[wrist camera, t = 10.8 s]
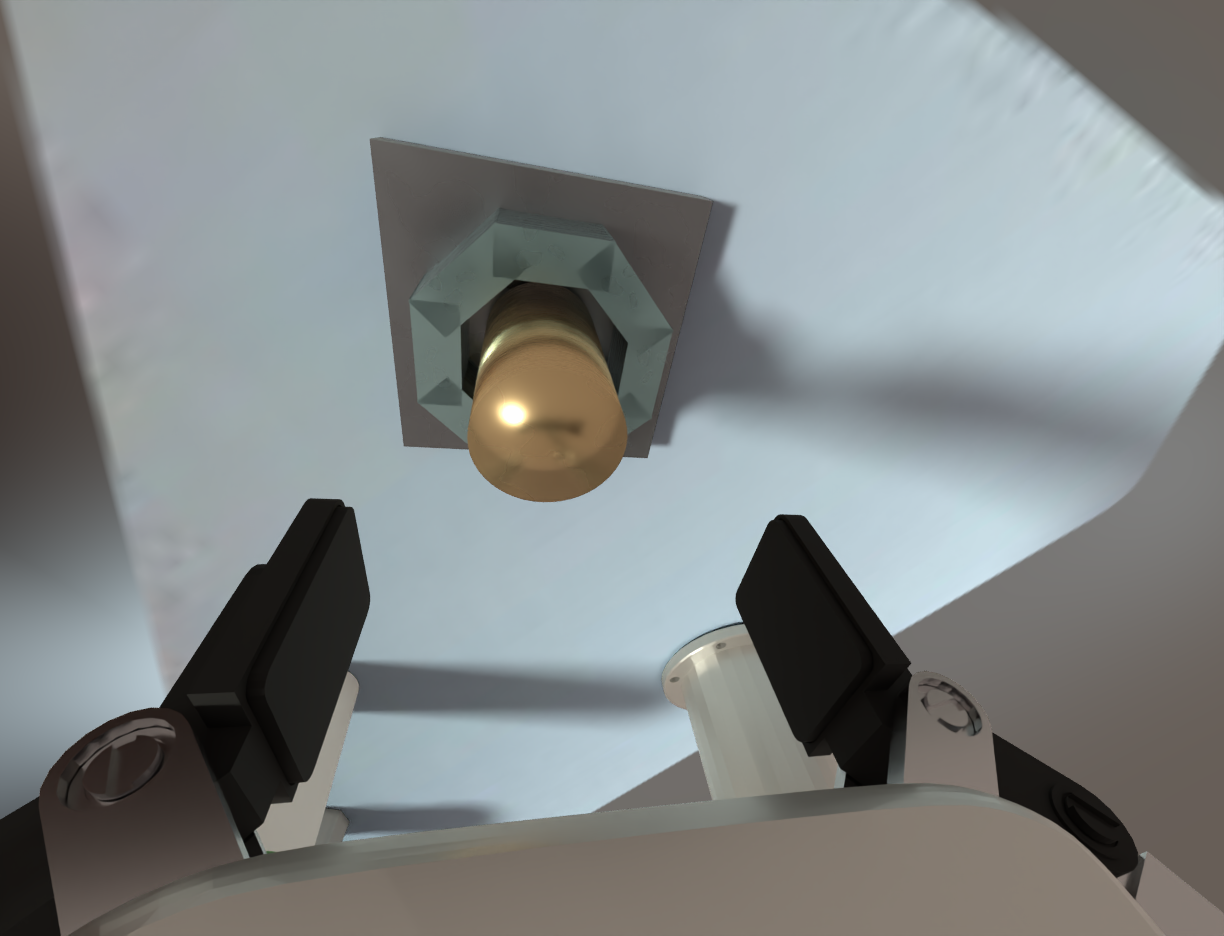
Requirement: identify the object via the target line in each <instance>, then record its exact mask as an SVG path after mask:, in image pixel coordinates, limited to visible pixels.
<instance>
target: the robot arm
mask: <svg viewBox="0 0 1224 936" xmlns="http://www.w3.org/2000/svg"><path fill="white" fill-rule="evenodd" d="M369 605H370V592H369V586H368V581H367V576H366V571H365V565H364V560H363V555H362V550H361V544H360V539H359V534H358V529H357V523H356V518H355V513H354V509H353V508H352V507H345V505H344V502H343V501H342V500H340V499H313V498H310V499H308V500H307V501H306V502H305V503H304V505H303V506H302V508H301V510H300V511H299V513H298V514H297V516H296V518H295V519H294V521H293V523H292V524H291V526H290V527H289V529H288V531H287V532H286V534H285V536H284V537H283V539H282V540H281V542H280V544H279V545H278V547H277V548H276V550H275V552H274V553H273V555H272V557H271V558H270V560H269V561H268V563H267V564H258V565H256V566H254V567H252V568H251V569H250V570H249V572H248V573H247V574H246V575H245V577H244V578H243V580H242V581H241V583H240V584H239V586H238V587H237V589H236V591H235V592H234V594H233V595H232V597H231V598H230V600H229V601H228V603H227V604H226V606H225V607H224V609H223V611H222V612H221V614H220V615H219V617H218V618H217V620H216V621H215V623H214V624H213V626H212V627H211V629H210V631H209V632H208V634H207V635H206V637H205V638H204V640H203V641H202V643H201V644H200V646H199V647H198V649H197V651H196V652H195V654H194V655H193V657H192V658H191V660H190V661H189V663H188V664H187V666H186V667H185V669H184V670H183V672H182V674H181V675H180V677H179V678H178V680H177V681H176V683H175V684H174V686H173V687H172V689H171V690H170V692H169V694H168V695H167V697H166V698H165V700H164V701H163V703H162V704H161V706H160V707H159V708H147V709H142V710H137V711H133V712H129V713H127V714H124V715H122V716H119V717H117V718H115V719H112V720H109V721H107V722H106V723H104V724H102V725H101V726H99V727H97V728H96V729H94V730H92V731H91V732H89V733H87V734H86V735H85V736H83V737H82V738H81V739H80V740H78V741H77V742H76V743H75V744H74V745H72V746H71V747H70V748H69V749H68V750H67V751H65V753H64V754H63V755H62V756H61V757H60V759H59V760H58V761H57V762H56V763H55V764H54V765H53V767H52V768H51V769H50V770H49V772H48V774H47V776H46V778H45V780H44V782H43V784H42V786H41V788H40V796H39V797H37V798H36V799H35V800H32V801H31V802H29V803H27V804H26V805H24V806H22V807H21V808H19V809H17V810H16V811H14V812H12V813H11V814H9V815H7V816H5V817H4V818H2V819H0V936H1224V914H1223V913H1222V912H1221V911H1220V910H1219V909H1217V908H1216V907H1215V906H1214V905H1213V904H1211V903H1210V902H1209V901H1208V900H1206V899H1205V898H1204V897H1203V896H1201V895H1200V894H1199V893H1198V892H1197V891H1195V890H1194V889H1193V888H1192V887H1190V886H1189V885H1188V884H1187V883H1185V882H1184V881H1183V880H1182V879H1181V878H1179V877H1178V876H1177V875H1176V874H1174V873H1173V872H1172V871H1171V870H1169V869H1168V868H1167V867H1166V866H1164V865H1163V864H1162V863H1161V862H1159V861H1158V860H1157V859H1156V858H1155V857H1153V856H1152V855H1151V854H1150V853H1148V852H1145V853H1143V854H1140V855H1139V854H1138V852H1137V849H1136V847H1135V844H1134V842H1133V839H1132V837H1131V836H1130V834H1129V833H1128V831H1127V830H1126V828H1125V826H1124V825H1123V823H1122V822H1121V821H1120V820H1119V819H1118V818H1117V817H1116V815H1115V814H1114V813H1113V812H1112V811H1111V809H1109V808H1108V807H1107V806H1106V805H1105V804H1104V803H1103V802H1102V801H1101V800H1100V799H1098V798H1097V797H1096V796H1095V795H1094V794H1092V793H1091V792H1089V791H1088V790H1086V789H1085V788H1084V787H1082V786H1081V785H1079V784H1077V783H1076V782H1074V781H1072V780H1071V779H1069V778H1067V777H1066V776H1064V775H1062V774H1061V773H1059V772H1057V771H1056V770H1054V769H1052V768H1051V767H1049V766H1047V765H1046V764H1044V763H1042V762H1041V761H1039V760H1037V759H1036V758H1034V757H1032V756H1031V755H1029V754H1027V753H1026V752H1024V751H1022V750H1021V749H1019V748H1017V747H1016V746H1014V745H1012V744H1011V743H1009V742H1007V741H1006V740H1004V739H1002V738H1001V737H999V736H997V735H996V734H994V733H992V728H991V725H990V722H989V718H988V716H987V715H986V713H985V711H984V710H983V708H982V706H981V705H980V704H979V703H978V702H977V701H976V699H975V698H974V697H973V696H972V695H971V694H970V693H969V692H968V691H966V690H965V689H964V688H963V687H961V685H959V684H957V683H956V682H954V681H952V680H951V679H949V678H947V677H945V676H943V675H940V674H938V673H933V672H928V671H924V672H917V673H916V674H914V675H913V676H912V674H911V673H910V672H909V670H908V669H907V668H908V667H909V665H910V664H911V662H910V661H909V659H908V658H907V657H906V655H905V654H904V653H903V651H902V650H901V649H900V647H899V646H898V644H897V643H896V641H895V640H894V639H893V637H892V636H891V635H890V633H889V632H888V630H887V629H886V628H885V626H884V625H883V623H882V622H881V621H880V619H879V618H878V617H877V615H876V614H875V612H874V611H873V610H872V608H871V607H870V606H869V604H868V603H867V601H866V600H865V599H864V597H863V596H862V594H861V593H860V592H859V590H858V589H857V588H856V586H855V585H854V583H853V582H852V581H851V579H850V578H849V577H848V575H847V574H846V572H845V571H844V570H843V568H842V567H841V565H840V564H839V563H838V561H837V560H836V559H835V557H834V556H833V554H832V553H831V552H830V550H829V549H828V548H827V546H826V545H825V543H824V542H823V541H822V539H821V538H820V536H819V535H818V534H817V532H816V531H815V530H814V528H813V527H812V525H811V524H810V523H809V521H808V520H807V519H806V518H805V517H804V516H802V515H783V514H781V515H778V516H776V517H775V519H774V520H771V521H770V522H769V523H768V525H767V527H766V529H765V532H764V534H763V536H762V538H761V540H760V542H759V545H758V547H757V549H756V551H755V553H754V555H753V558H752V560H751V562H750V564H749V566H748V568H747V571H746V573H745V575H744V577H743V579H742V581H741V584H740V586H739V588H738V590H737V593H736V605H737V608H738V611H739V613H740V615H741V617H742V620H743V622H744V624H741V625H734V626H730V627H726V628H722V629H719V630H716V631H713V632H711V633H708V634H705V635H703V636H701V637H699V638H698V639H696V640H694V641H692V642H690V643H689V644H687V645H686V646H684V647H683V648H682V649H680V650H679V651H678V652H677V653H676V654H675V655H674V656H673V657H672V658H671V659H670V660H669V662H668V663H667V664H666V666H665V668H664V670H663V672H662V678H661V680H662V686H663V690H664V693H665V696H666V698H667V699H668V700H669V701H670V702H671V703H672V704H674V705H676V706H677V707H680V708H683V709H686V710H687V711H688V715H689V718H690V722H691V725H692V729H693V732H694V736H695V740H696V743H697V747H698V750H699V754H700V757H701V761H702V765H703V768H704V771H705V775H706V778H707V782H708V786H709V790H710V793H711V797H712V800H713V801H703V802H693V803H684V804H674V805H665V806H655V807H645V808H636V809H626V810H618V811H607V812H598V813H588V814H579V815H569V816H560V817H551V818H542V819H532V820H523V821H514V822H505V823H496V824H487V825H478V826H468V827H459V828H450V829H441V830H432V831H423V832H415V833H407V834H399V835H391V836H383V837H376V838H368V839H360V840H352V841H344V842H336V843H328V844H321V845H314V846H309V847H303V848H297V849H292V850H286V851H280V852H275V853H269V854H267V853H266V850H265V848H264V846H263V843H262V841H261V839H260V836H259V834H258V832H257V830H256V829H257V828H259V827H260V826H261V825H262V824H263V823H264V821H265V818H266V816H267V813H268V811H269V808H270V805H271V804H279V803H290V802H292V801H293V798H294V796H295V793H296V790H297V787H298V784H299V783H302V782H307V781H308V780H309V779H310V777H311V775H312V773H313V771H314V768H315V765H316V762H317V760H318V757H319V754H320V751H321V748H322V745H323V742H324V739H325V736H326V733H327V730H328V727H329V724H330V722H331V719H332V716H333V713H334V710H335V707H336V704H337V701H338V698H339V695H340V692H341V689H342V686H343V684H344V681H345V678H346V675H347V672H348V669H349V666H350V663H351V660H352V657H353V654H354V651H355V648H356V646H357V643H358V640H359V637H360V634H361V631H362V628H363V625H364V622H365V619H366V616H367V613H368V610H369ZM832 753H833V754H832ZM833 755H834V756H833ZM834 757H835V758H834ZM835 759H836V760H835ZM836 761H837V762H836ZM837 763H838V764H837Z"/></svg>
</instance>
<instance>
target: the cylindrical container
mask: <svg viewBox="0 0 1224 936" xmlns="http://www.w3.org/2000/svg"><path fill="white" fill-rule="evenodd" d="M358 691H359V684H358V681H357V679H356V678H355V677H354V676H353V675H352V674H351V673H349V672H347V675H346V678H345V681H344V684H343V686H342V689H341V692H340V695H339V698H338V701H337V704H336V707H335V710H334V713H333V716H332V719H331V722H330V724H329V727H328V730H327V733H326V736H325V739H324V742H323V745H322V748H321V751H320V754H319V757H318V760H317V762H316V765H315V768H314V771H313V773H312V775H311V777H310V779H309V780H308V781H307V782H302V783H299V784H298V787H297V790H296V793H295V796H294V798H293V801H292V802H290V803H279V804H271V805H270V808H269V811H268V813H267V816H266V818H265V821H264V823H263V824H262V825H261V826H260V827H259V828H257V829H256V830H257V832H258V834H259V836H260V839H261V841H262V843H263V846H264V848H265V850H266V853H267V854H269V853H275V852H280V851H286V850H292V849H297V848H303V847H309V846H314V845H315V843H316V839H317V836H318V832H319V829H320V825H321V822H322V818H323V815H324V811H325V808H326V804H327V800H328V797H329V793H330V790H331V786H332V783H333V779H334V776H335V772H336V769H337V765H338V762H339V758H340V755H341V751H342V748H343V744H344V741H345V737H346V733H347V730H348V726H349V723H350V719H351V716H352V712H353V709H354V705H355V702H356V698H357V695H358Z"/></svg>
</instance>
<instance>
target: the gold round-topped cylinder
mask: <svg viewBox="0 0 1224 936" xmlns="http://www.w3.org/2000/svg"><path fill="white" fill-rule="evenodd" d="M467 441H468V448H469V452H470V456H471V458H472V460H473V462H474V464H475V466H476V467H477V469H478V471H479V472H480V473H481V474H482V475H483V477H484V478H485V479H486V480H488V481H489V482H490V483H491V484H492V485H494V486H495V487H496V488H498V489H499V490H501V491H503V492H505V493H507V494H509V495H512V496H514V497H517V498H520V499H524V500H529V501H536V502H556V501H563V500H568V499H572V498H575V497H578V496H581V495H583V494H585V493H588V492H590V491H591V490H593V489H595V488H596V487H598V486H599V485H600V484H602V483H603V482H604V481H605V480H606V479H608V478H609V477H610V476H611V474H612V473H613V472H614V471H615V470H616V468H617V467H618V465H619V463H620V462H621V459H622V457H623V455H624V452H625V449H626V444H627V425H626V420H625V417H624V414H623V411H622V408H621V405H620V402H619V399H618V396H617V393H616V390H615V387H614V384H613V381H612V378H611V375H610V372H609V369H608V366H607V363H606V360H605V357H604V353H603V350H602V347H601V344H600V341H599V338H598V335H597V332H596V329H595V326H594V323H593V320H592V317H591V315H590V313H589V311H588V309H587V308H586V306H585V305H584V303H583V302H582V301H581V300H580V299H579V298H578V297H577V296H576V295H575V294H573V293H572V292H570V291H569V290H567V289H565V288H563V287H561V286H559V285H553V284H545V283H538V282H530V283H525V284H522V285H519V286H516V287H514V288H512V289H510V290H509V291H507V292H506V293H505V294H503V295H502V296H501V297H500V298H499V299H498V300H497V302H496V303H495V304H494V306H493V308H492V309H491V311H490V314H489V316H488V320H487V324H486V330H485V335H484V341H483V346H482V352H481V358H480V363H479V369H478V374H477V380H476V386H475V391H474V397H473V402H472V408H471V414H470V419H469V425H468V434H467Z"/></svg>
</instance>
